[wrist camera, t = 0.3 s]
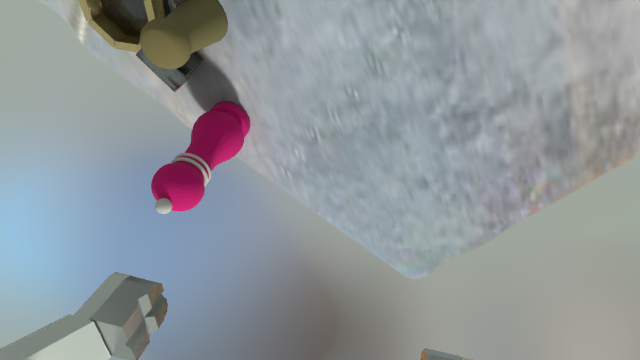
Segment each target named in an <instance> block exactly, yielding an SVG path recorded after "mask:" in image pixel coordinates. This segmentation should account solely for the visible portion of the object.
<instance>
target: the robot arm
mask: <svg viewBox="0 0 640 360" xmlns="http://www.w3.org/2000/svg"><path fill="white" fill-rule="evenodd" d="M163 291H164V289H163V286H162V284H161V283H157V282H153V281H149V280H145V279H141V278H137V277H133V276H130V275H126V274H122V273H118V272H115V273H113V274H112V275H110V276H109V277H108V278H107V279H106V280H105V281H104V282H103V284H102V285H101V286H100V287H99V288H98V289H97V290H96V291H95V292H94V293H93V295H92V296H91V297H90V298H89V299H88V300H87V301H86V302H85V303H84V304H83V305H82V307H81V308H80V309H79V310H78V311H77V312H76V313H75V314H74V315H70V314H69V315H67V316H65V317H63V318H61V319H59V320H57V321H55V322H53V323H51V324H49V325H47V326H45V327H43V328H41V329H39V330H37V331H35V332H33V333H31V334H29V335H27V336H25V337H23V338H21V339H19V340H17V341H15V342H13V343H11V344H9V345H7V346H5V347H3V348H1V349H0V360H108V359H109V358H110V357H111V356H115V357H119V358H123V359H127V360H138V359H139V358H140V356H141V354H142V353H143V351H144V350H145V348H146V347H147V345H148V344H149V342H150V333H152V332H154V331H155V330H157V329H159V327H160V326H161V324H162V322H163V321H164V318H165V316H166V313H167V308H168V303H167V299H166V298H165V297H164V296H163V295H162V293H163ZM110 355H111V356H110ZM421 360H472V359H468V358H464V357H460V356H456V355H452V354H448V353H443V352H439V351H435V350H430V349H426V348H425V349H423V351H422V353H421Z"/></svg>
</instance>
